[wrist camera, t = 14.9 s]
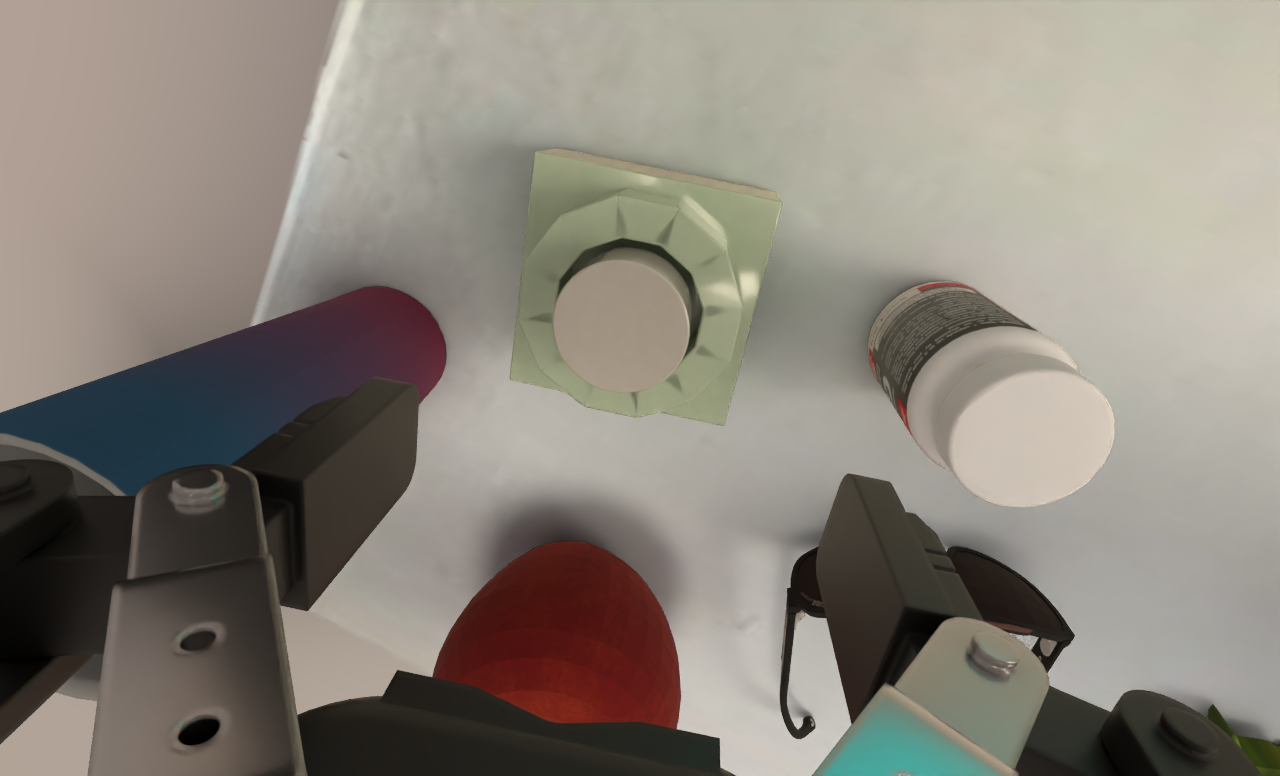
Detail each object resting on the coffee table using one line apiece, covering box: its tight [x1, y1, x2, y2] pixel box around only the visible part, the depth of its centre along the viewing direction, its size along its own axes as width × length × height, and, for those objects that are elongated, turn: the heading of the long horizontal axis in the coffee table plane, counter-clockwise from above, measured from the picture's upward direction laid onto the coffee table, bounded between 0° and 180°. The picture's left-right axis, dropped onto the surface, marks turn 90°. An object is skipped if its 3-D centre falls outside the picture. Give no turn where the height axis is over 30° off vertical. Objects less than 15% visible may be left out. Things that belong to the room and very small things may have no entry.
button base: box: [510, 148, 783, 426], centre depth 22 cm, size 8×8×5 cm
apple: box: [432, 541, 681, 729], centre depth 26 cm, size 10×10×10 cm
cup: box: [0, 286, 446, 701], centre depth 20 cm, size 7×7×15 cm
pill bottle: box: [868, 281, 1115, 507], centre depth 21 cm, size 5×5×8 cm
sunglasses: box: [780, 546, 1075, 739], centre depth 28 cm, size 10×12×5 cm
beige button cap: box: [552, 247, 693, 393], centre depth 20 cm, size 4×4×2 cm
